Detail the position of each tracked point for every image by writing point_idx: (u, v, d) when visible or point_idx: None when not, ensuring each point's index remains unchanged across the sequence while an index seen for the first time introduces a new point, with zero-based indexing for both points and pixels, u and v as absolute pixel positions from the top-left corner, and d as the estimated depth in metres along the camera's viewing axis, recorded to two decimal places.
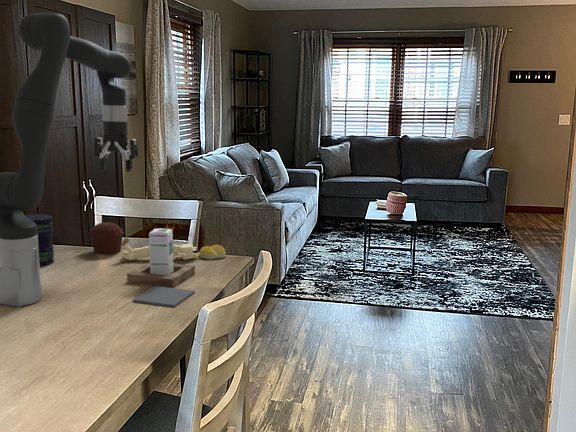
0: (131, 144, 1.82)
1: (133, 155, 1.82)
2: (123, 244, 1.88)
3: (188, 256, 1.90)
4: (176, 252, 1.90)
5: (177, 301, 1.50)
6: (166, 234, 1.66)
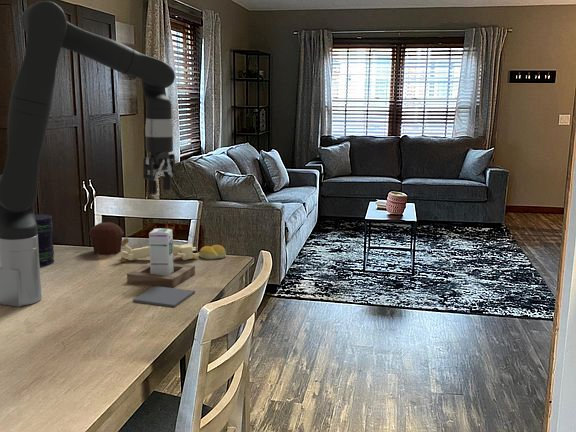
0: (173, 159, 1.70)
1: (174, 170, 1.71)
2: (123, 244, 1.87)
3: (188, 256, 1.90)
4: (176, 252, 1.90)
5: (177, 301, 1.50)
6: (166, 234, 1.66)
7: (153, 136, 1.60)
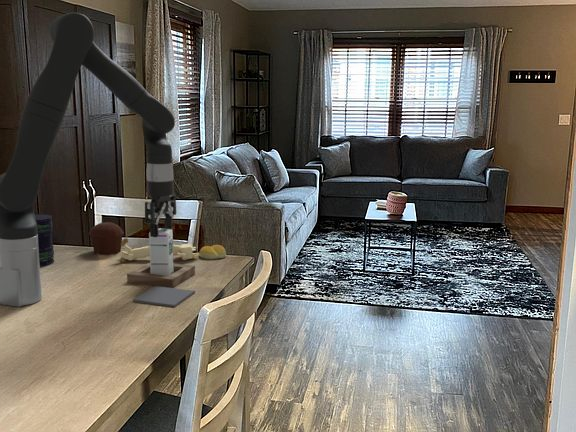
0: (174, 200, 1.73)
1: (175, 211, 1.74)
2: (122, 244, 1.87)
3: (187, 256, 1.90)
4: (175, 252, 1.90)
5: (177, 301, 1.50)
6: (166, 234, 1.66)
7: (154, 181, 1.62)
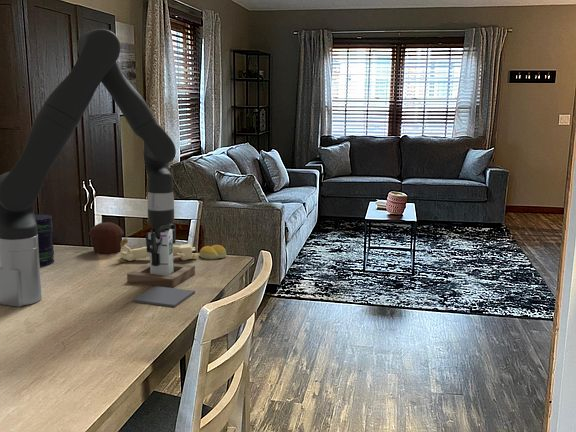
0: (174, 229, 1.74)
1: (175, 240, 1.75)
2: (122, 244, 1.87)
3: (187, 256, 1.90)
4: (175, 252, 1.90)
5: (177, 301, 1.50)
6: (166, 234, 1.66)
7: (155, 210, 1.64)
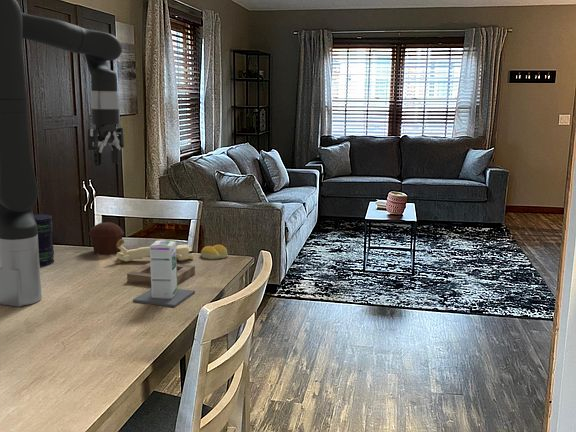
0: (121, 133, 1.71)
1: (123, 144, 1.72)
2: (118, 245, 1.86)
3: (184, 257, 1.89)
4: None
5: (177, 301, 1.50)
6: (169, 247, 1.49)
7: (98, 108, 1.61)
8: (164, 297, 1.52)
